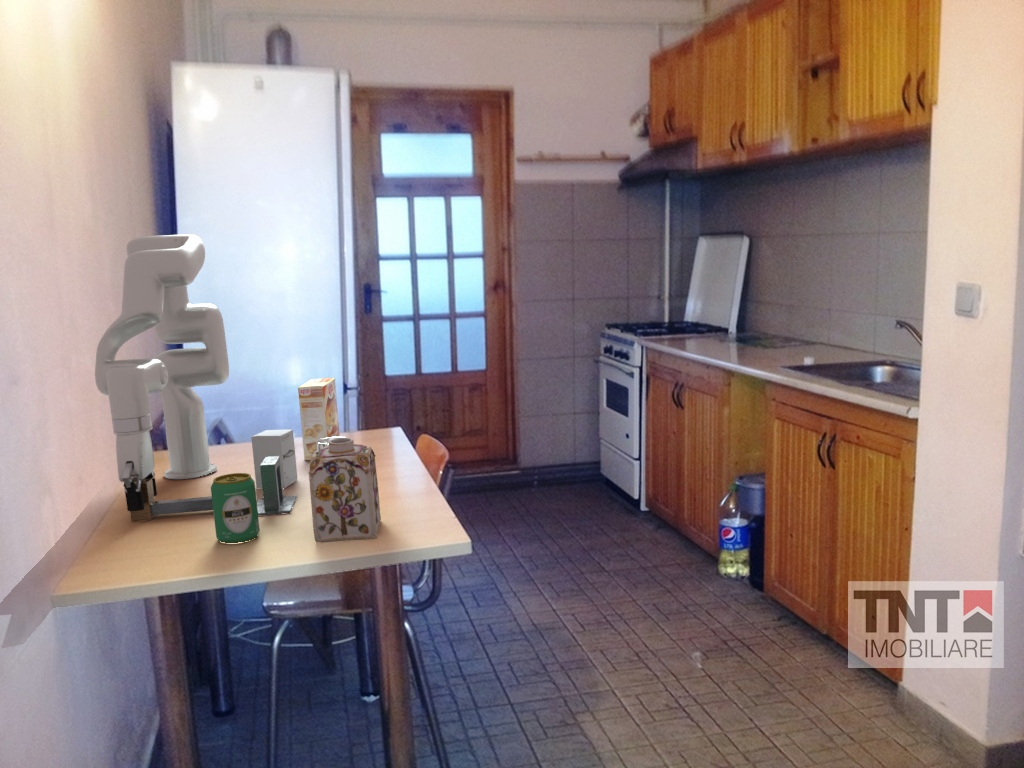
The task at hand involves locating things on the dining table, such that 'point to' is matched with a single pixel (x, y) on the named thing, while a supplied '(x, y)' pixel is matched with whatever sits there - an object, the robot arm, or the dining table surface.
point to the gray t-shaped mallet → (167, 504)
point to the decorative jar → (344, 492)
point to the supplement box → (275, 453)
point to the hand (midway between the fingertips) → (142, 503)
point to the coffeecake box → (318, 412)
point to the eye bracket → (273, 489)
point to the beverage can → (235, 508)
